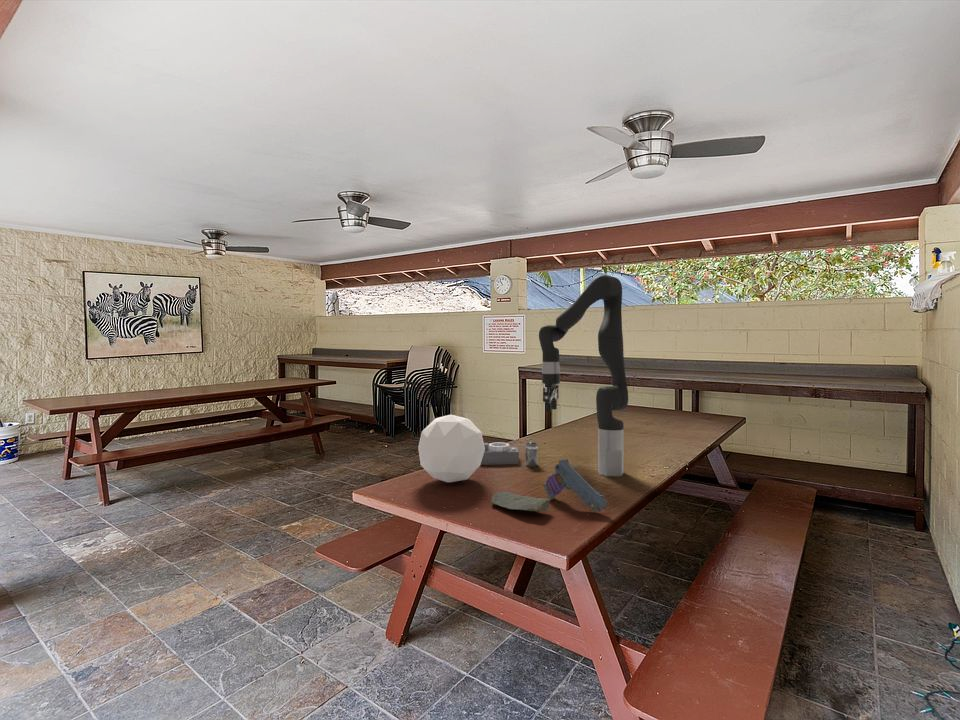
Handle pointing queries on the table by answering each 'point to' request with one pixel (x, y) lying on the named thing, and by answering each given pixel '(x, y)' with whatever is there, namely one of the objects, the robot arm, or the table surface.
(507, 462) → the camera body
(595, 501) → the toy gun
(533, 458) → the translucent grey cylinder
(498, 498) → the stone
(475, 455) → the geometric sphere
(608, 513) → the table surface
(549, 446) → the table surface
